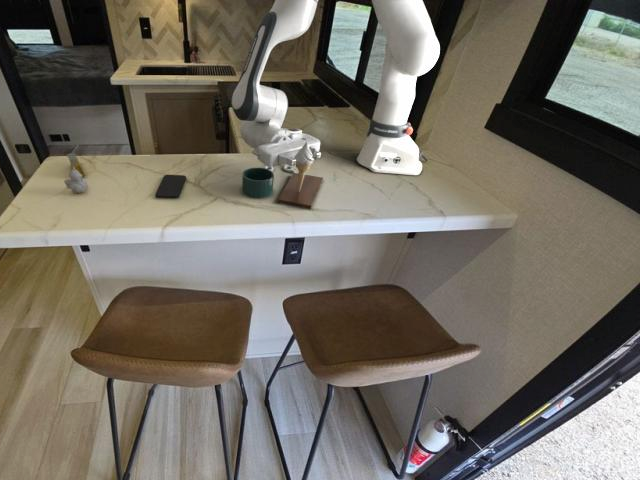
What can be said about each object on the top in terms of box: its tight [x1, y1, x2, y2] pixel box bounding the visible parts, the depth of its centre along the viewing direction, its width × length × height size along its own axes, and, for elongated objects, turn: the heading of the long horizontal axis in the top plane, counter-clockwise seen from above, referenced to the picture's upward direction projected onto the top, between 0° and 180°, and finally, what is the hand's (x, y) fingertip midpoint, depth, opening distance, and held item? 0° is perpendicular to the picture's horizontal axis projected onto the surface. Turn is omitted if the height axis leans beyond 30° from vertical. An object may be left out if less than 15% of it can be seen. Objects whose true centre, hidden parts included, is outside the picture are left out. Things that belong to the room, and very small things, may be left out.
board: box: [277, 172, 324, 210], centre depth 106 cm, size 10×20×1 cm, turn 160°
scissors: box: [264, 164, 297, 174], centre depth 122 cm, size 11×1×20 cm
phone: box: [154, 174, 187, 199], centre depth 107 cm, size 7×1×15 cm
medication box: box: [67, 152, 86, 177], centre depth 113 cm, size 12×3×4 cm, turn 28°
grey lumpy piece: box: [63, 166, 89, 194], centre depth 101 cm, size 5×7×8 cm
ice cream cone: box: [295, 142, 315, 192], centre depth 99 cm, size 6×6×15 cm
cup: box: [241, 167, 275, 199], centre depth 104 cm, size 10×10×6 cm
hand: (306, 159), depth 96 cm, fingers open, 8 cm apart
